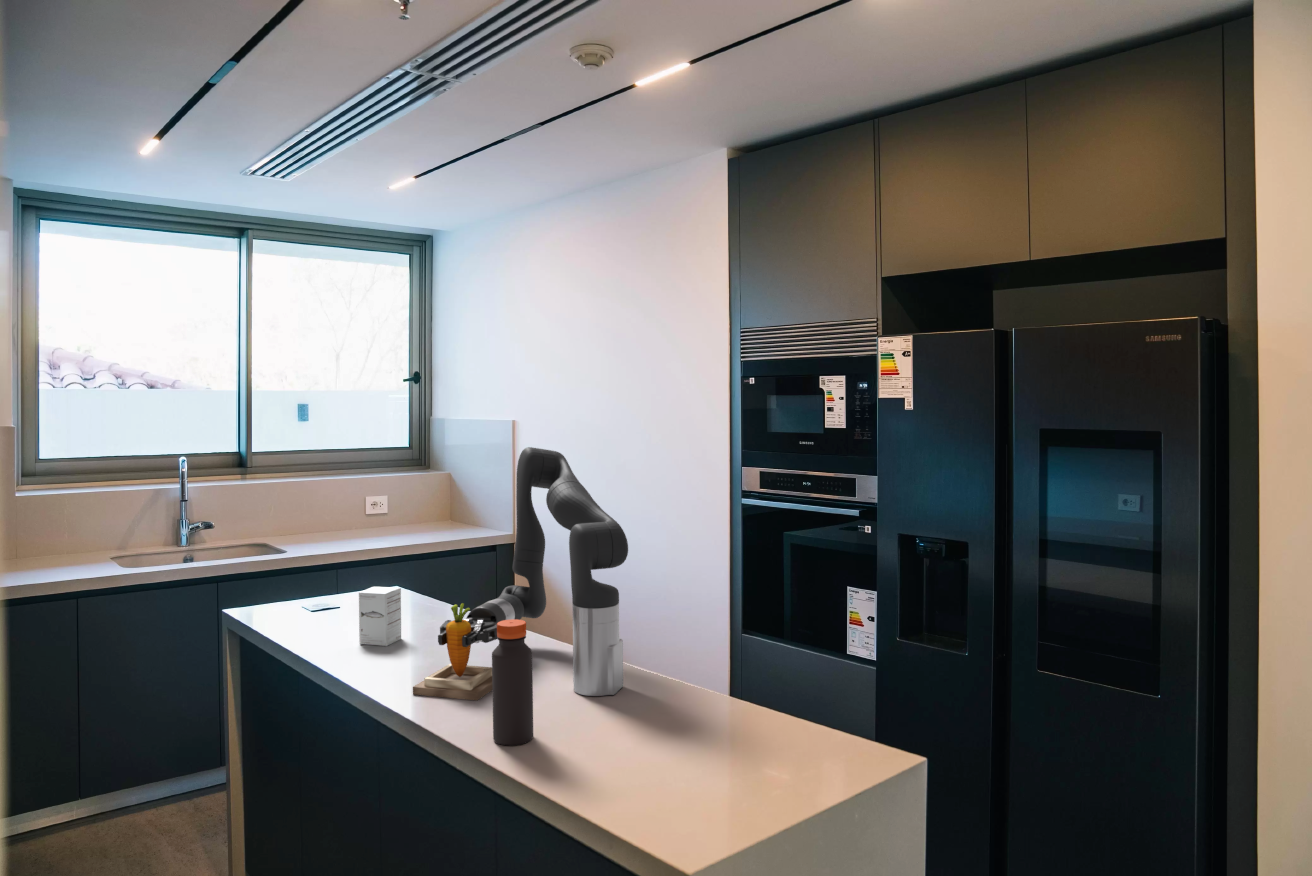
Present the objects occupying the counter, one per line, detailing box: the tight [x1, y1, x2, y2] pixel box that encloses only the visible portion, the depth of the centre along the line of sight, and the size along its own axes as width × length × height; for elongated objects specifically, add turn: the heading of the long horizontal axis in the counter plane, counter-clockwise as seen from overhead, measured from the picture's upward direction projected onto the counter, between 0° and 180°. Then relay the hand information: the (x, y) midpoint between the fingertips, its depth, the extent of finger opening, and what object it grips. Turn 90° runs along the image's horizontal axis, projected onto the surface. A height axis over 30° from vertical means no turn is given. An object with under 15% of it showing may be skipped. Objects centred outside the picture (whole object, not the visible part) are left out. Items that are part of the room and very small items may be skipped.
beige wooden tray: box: [412, 663, 492, 701], centre depth 180 cm, size 14×12×3 cm
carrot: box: [446, 602, 472, 677], centre depth 180 cm, size 5×5×15 cm
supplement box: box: [358, 586, 402, 647], centre depth 214 cm, size 7×7×13 cm
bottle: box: [491, 619, 534, 747], centre depth 152 cm, size 7×7×20 cm
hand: (452, 641), depth 177 cm, fingers closed on carrot, 4 cm apart
